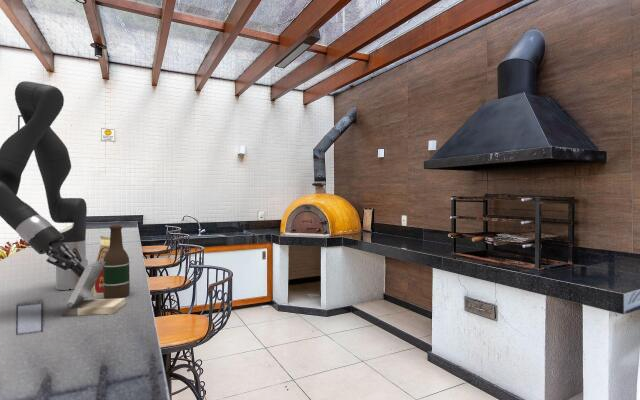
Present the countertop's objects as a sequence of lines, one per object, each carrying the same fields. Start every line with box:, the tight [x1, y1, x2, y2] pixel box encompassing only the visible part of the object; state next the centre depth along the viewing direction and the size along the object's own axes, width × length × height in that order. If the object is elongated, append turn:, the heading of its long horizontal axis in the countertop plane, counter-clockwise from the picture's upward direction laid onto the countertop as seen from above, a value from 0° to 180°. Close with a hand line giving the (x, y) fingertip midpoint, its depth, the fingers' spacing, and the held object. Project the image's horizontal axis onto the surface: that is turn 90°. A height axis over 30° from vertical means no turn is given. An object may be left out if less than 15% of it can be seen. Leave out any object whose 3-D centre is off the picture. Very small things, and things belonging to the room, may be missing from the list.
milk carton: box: [92, 235, 124, 297], centre depth 129 cm, size 9×9×20 cm
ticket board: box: [61, 297, 126, 317], centre depth 107 cm, size 14×9×2 cm, turn 99°
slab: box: [66, 260, 106, 307], centre depth 107 cm, size 2×9×13 cm, turn 9°
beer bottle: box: [103, 224, 131, 299], centre depth 122 cm, size 8×8×24 cm
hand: (85, 275), depth 107 cm, fingers closed
